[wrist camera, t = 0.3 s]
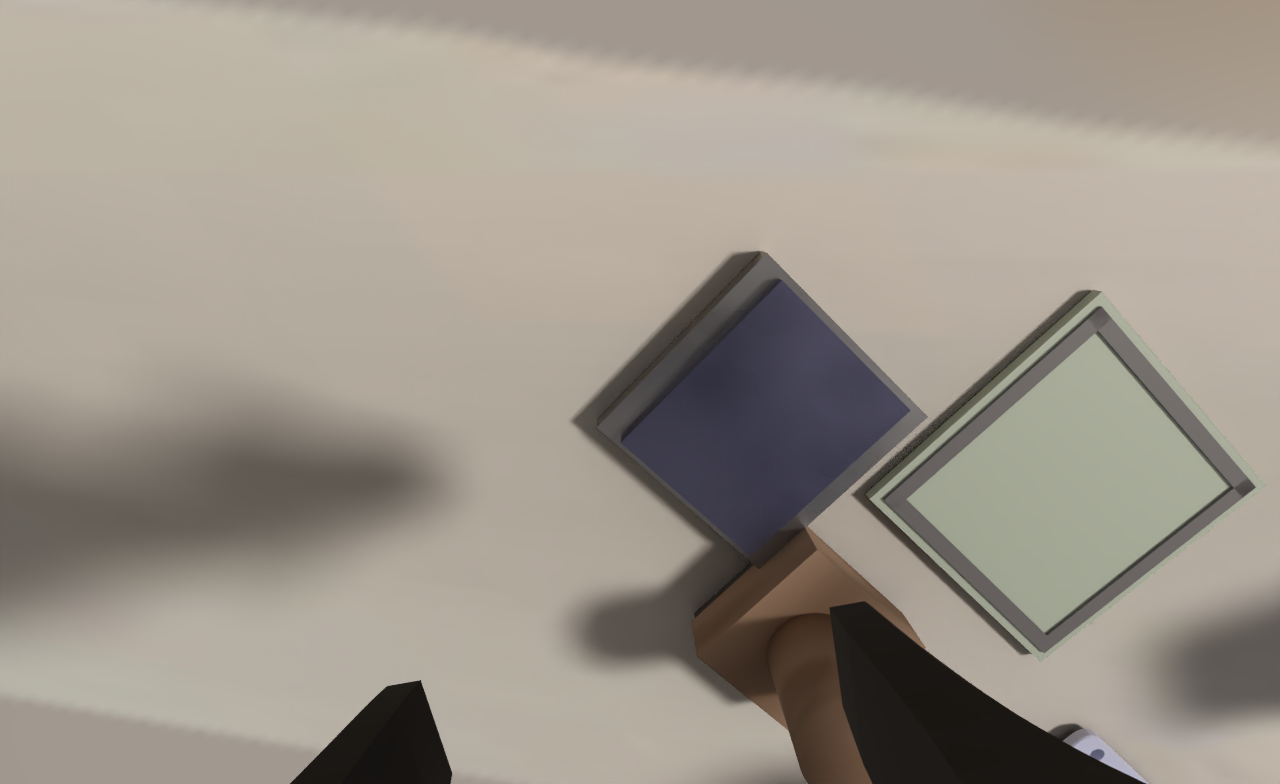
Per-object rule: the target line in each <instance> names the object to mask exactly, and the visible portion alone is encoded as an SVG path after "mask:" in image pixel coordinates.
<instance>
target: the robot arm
mask: <svg viewBox="0 0 1280 784" xmlns="http://www.w3.org/2000/svg"><path fill="white" fill-rule="evenodd" d="M829 610H830V617H831V625H832V632H833V639H834V647H835V654H836V661H837V669H838V676H839V684H840V691H841V698H842V706H843V709H844V711H845V714H846V717H847V720H848V723H849V726H850V729H851V732H852V734H853V737H854V740H855V743H856V746H857V748H858V751H859V754H860V757H861V759H862V762H863V765H864V767H865V769H866V771H867V773H868V775H869V777H870V780H871V782H872V784H1149V783H1148V782H1147V781H1146V780H1145V779H1144V778H1143V777H1142V776H1141V775H1139V774H1138V773H1137V772H1136V771H1135V770H1134V769H1133V768H1132V767H1131V766H1130V765H1129V764H1128V763H1127V762H1126V761H1125V760H1124V759H1122V758H1121V757H1120V756H1119V755H1118V754H1117V753H1116V752H1115V751H1114V750H1113V749H1112V748H1111V747H1110V746H1109V745H1108V744H1107V743H1105V742H1104V741H1103V740H1102V739H1101V738H1100V737H1099V736H1098V735H1097V734H1096V733H1095V732H1094V731H1092V730H1090V729H1079V730H1077V731H1075V732H1074V733H1072V734H1071V735H1070V736H1068V737H1067V738H1066V739H1064V740H1063V741H1062V740H1060V739H1058V738H1056V737H1055V736H1053V735H1051V734H1049V733H1048V732H1046V731H1044V730H1042V729H1040V728H1039V727H1037V726H1035V725H1033V724H1032V723H1030V722H1028V721H1027V720H1025V719H1024V718H1022V717H1020V716H1019V715H1017V714H1015V713H1014V712H1012V711H1011V710H1009V709H1008V708H1006V707H1005V706H1003V705H1002V704H1000V703H999V702H997V701H996V700H994V699H993V698H991V697H989V696H988V695H986V694H985V693H983V692H982V691H981V690H979V689H978V688H976V687H975V686H974V685H972V684H971V683H969V682H968V681H966V680H965V679H964V678H962V677H961V676H960V675H958V674H957V673H955V672H954V671H953V670H951V669H950V668H949V667H947V666H946V665H945V664H943V663H942V662H941V661H939V660H938V659H937V658H935V657H934V656H933V655H931V654H930V653H929V652H927V651H926V650H925V649H924V648H922V647H921V646H920V645H919V644H917V643H916V642H915V641H914V640H912V639H911V638H910V637H909V636H907V635H906V634H905V633H904V632H902V631H901V630H900V629H899V628H898V627H896V626H895V625H894V624H893V623H892V622H890V621H889V620H888V619H887V618H886V617H884V616H883V615H882V614H881V613H880V612H878V611H877V610H876V609H875V608H874V607H872V606H871V605H870V604H868V603H867V602H865V601H862V602H856V603H851V604H845V605H840V606H834V607H829ZM451 777H452V771H451V768H450V765H449V762H448V760H447V757H446V754H445V751H444V748H443V745H442V742H441V739H440V736H439V733H438V730H437V727H436V724H435V721H434V718H433V715H432V712H431V710H430V707H429V704H428V701H427V698H426V695H425V692H424V689H423V686H422V683H421V680H420V681H414V682H408V683H403V684H397V685H392V686H387V687H386V688H385V689H384V690H382V691H381V692H380V693H379V694H378V695H377V696H376V697H375V698H374V699H373V700H372V701H371V702H370V703H369V704H368V705H367V706H366V707H365V708H364V709H363V710H362V711H361V712H360V713H359V714H358V715H357V716H356V717H355V718H354V719H353V720H352V721H351V722H350V723H349V724H348V725H347V726H346V727H345V728H344V729H343V730H342V731H341V732H340V733H339V734H338V735H337V737H336V738H335V739H334V740H333V741H332V742H331V743H330V744H329V745H328V746H327V747H326V748H325V749H324V750H323V751H322V752H321V753H320V754H319V755H318V756H317V757H316V758H315V759H314V760H313V761H312V762H311V763H310V764H309V765H308V766H307V767H306V768H305V769H304V770H303V771H302V772H301V773H300V774H299V775H298V776H297V777H296V779H294V780H293V781H292V782H291V783H290V784H450V783H451Z"/></svg>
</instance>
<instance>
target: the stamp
mask: <svg viewBox="0 0 1280 784" xmlns="http://www.w3.org/2000/svg"><path fill="white" fill-rule="evenodd" d="M862 601H865V602H867V603H868V604H870V605H871V606H872V607H874V608H875V609H876V610H877V611H878V612H880V613H881V614H882V615H883V616H884V617H886V618H887V619H888V620H889V621H890V622H892V623H893V624H894V625H895V626H896V627H898V628H899V629H900V630H901V631H902V632H904V633H905V634H906V635H907V636H909V637H910V638H911V639H912V640H914V641H915V642H916V643H917V644H919V645H920V646H921V647H922V648H924V649H925V646H924V645H923V643H922V642H921V640H920V639H919V637H918V636H917V634H916V633H915V631H914V630H913V628H912V627H911V625H910V624H909V622H908V621H907V619H906V618H905V616H904V615H903V613H902V612H901V611H900V610H898V609H897V608H896V607H895V606H894V605H893V604H892V603H891V602H890V601H889V600H887V599H886V598H885V597H884V596H883V595H882V594H881V593H880V592H879V591H878V590H876V589H875V588H874V587H873V586H872V585H871V584H870V583H869V582H868V581H867V580H865V579H864V578H863V577H862V576H861V575H860V574H859V573H858V572H857V571H856V570H854V569H853V568H852V567H851V566H850V565H849V564H848V563H847V562H846V561H845V560H844V559H842V558H841V557H840V556H839V555H838V554H837V553H836V552H835V551H834V550H833V549H831V548H830V547H829V546H828V545H827V544H826V543H825V542H824V541H823V540H822V539H820V538H819V537H818V536H817V535H816V534H815V533H814V532H813V531H812V530H811V529H809V528H808V527H807V526H806V527H805V528H804V529H803V530H802V531H801V532H800V533H799V534H798V535H796V536H795V537H794V538H793V539H792V540H791V541H790V542H789V543H788V544H787V545H785V546H784V547H783V548H782V549H781V550H780V551H779V552H778V553H777V554H775V555H774V556H773V557H772V558H771V559H770V560H769V561H768V562H767V563H765V564H764V565H763V566H762V567H761V568H760V569H758V568H757V567H756V566H754V565H753V564H752V563H750V564H749V565H747V566H746V567H745V568H744V569H743V570H742V571H741V572H740V573H739V574H738V575H736V576H735V577H734V578H733V579H732V580H731V581H730V582H729V583H728V584H727V585H725V586H724V587H723V588H722V589H721V590H720V591H719V592H718V593H717V594H716V595H714V596H713V597H712V598H711V599H710V600H709V601H708V602H707V603H706V604H705V605H703V606H702V607H701V608H700V609H699V610H698V611H697V612H696V613H695V619H694V620H692V627H693V633H694V639H695V645H696V651H697V657H698V658H700V659H701V660H702V661H703V662H705V663H706V664H707V665H708V666H709V667H711V668H712V669H713V670H714V671H716V672H717V673H718V674H719V675H721V676H722V677H723V678H724V679H726V680H727V681H728V682H729V683H730V684H732V685H733V686H734V687H735V688H737V689H738V690H739V691H740V692H742V693H743V694H744V695H745V696H747V697H748V698H749V699H750V700H752V701H753V702H754V703H755V704H756V705H758V706H759V707H760V708H761V709H763V710H764V711H765V712H766V713H768V714H769V715H770V716H771V717H773V718H774V719H775V720H776V721H777V722H779V723H780V724H781V725H782V726H784V727H785V728H786V729H787V730H789V733H790V736H791V740H792V743H793V746H794V749H795V752H796V756H797V759H798V762H799V765H800V769H801V771H802V774H803V776H804V778H805V780H806V781H807V782H808V784H872V782H871V780H870V777H869V775H868V773H867V771H866V769H865V767H864V765H863V762H862V759H861V757H860V754H859V751H858V748H857V746H856V743H855V740H854V737H853V734H852V732H851V729H850V726H849V723H848V720H847V717H846V714H845V711H844V709H843V706H842V698H841V691H840V684H839V676H838V669H837V661H836V654H835V647H834V639H833V632H832V625H831V617H830V610H829V607H834V606H840V605H845V604H851V603H856V602H862Z"/></svg>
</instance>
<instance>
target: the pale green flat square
mask: <svg viewBox="0 0 1280 784" xmlns="http://www.w3.org/2000/svg"><path fill="white" fill-rule="evenodd" d="M1265 486H1266V484H1265V483H1264V482H1263V481H1262V480H1261V479H1260V477H1259V476H1258V475H1257V474H1256V473H1255V471H1254V470H1253V469H1252V468H1251V467H1250V466H1249V464H1248V463H1247V462H1246V461H1245V460H1244V459H1243V457H1242V456H1241V455H1240V454H1239V453H1238V451H1237V450H1236V449H1235V448H1234V447H1233V446H1232V444H1231V443H1230V442H1229V441H1228V440H1227V438H1226V437H1225V436H1224V435H1223V434H1222V433H1221V431H1220V430H1219V429H1218V428H1217V427H1216V425H1215V424H1214V423H1213V422H1212V421H1211V420H1210V418H1209V417H1208V416H1207V415H1206V414H1205V412H1204V411H1203V410H1202V409H1201V408H1200V407H1199V405H1198V404H1197V403H1196V402H1195V401H1194V400H1193V398H1192V397H1191V396H1190V395H1189V394H1188V392H1187V391H1186V390H1185V389H1184V388H1183V387H1182V385H1181V384H1180V383H1179V382H1178V381H1177V379H1176V378H1175V377H1174V376H1173V375H1172V374H1171V372H1170V371H1169V370H1168V369H1167V368H1166V366H1165V365H1164V364H1163V363H1162V362H1161V361H1160V359H1159V358H1158V357H1157V356H1156V355H1155V353H1154V352H1153V351H1152V350H1151V349H1150V348H1149V346H1148V345H1147V344H1146V343H1145V342H1144V340H1143V339H1142V338H1141V337H1140V336H1139V335H1138V333H1137V332H1136V331H1135V330H1134V329H1133V328H1132V326H1131V325H1130V324H1129V323H1128V322H1127V320H1126V319H1125V318H1124V317H1123V316H1122V315H1121V313H1120V312H1119V311H1118V310H1117V309H1116V307H1115V306H1114V305H1113V304H1112V303H1111V302H1110V300H1109V299H1108V298H1107V297H1106V296H1105V294H1104V293H1103V292H1101V291H1096V290H1092V291H1091V292H1090V293H1089V294H1088V295H1087V296H1086V297H1084V298H1083V299H1082V300H1081V301H1080V302H1079V303H1078V304H1077V305H1075V306H1074V307H1073V308H1072V309H1071V310H1070V311H1069V312H1068V313H1067V314H1065V315H1064V316H1063V317H1062V318H1061V319H1060V320H1059V321H1058V322H1057V323H1055V324H1054V325H1053V326H1052V327H1051V328H1050V329H1049V330H1048V331H1046V332H1045V333H1044V334H1043V335H1042V336H1041V337H1040V338H1039V339H1038V340H1036V341H1035V342H1034V343H1033V344H1032V345H1031V346H1030V347H1029V348H1027V349H1026V350H1025V351H1024V352H1023V353H1022V354H1021V355H1020V356H1019V357H1017V358H1016V359H1015V360H1014V361H1013V362H1012V363H1011V364H1010V365H1009V366H1007V367H1006V368H1005V369H1004V370H1003V371H1002V372H1001V373H1000V374H998V375H997V376H996V377H995V378H994V379H993V380H992V381H991V382H990V383H988V384H987V385H986V386H985V387H984V388H983V389H982V390H981V391H979V392H978V393H977V394H976V395H975V396H974V397H973V398H972V399H971V400H969V401H968V402H967V403H966V404H965V405H964V406H963V407H962V408H960V409H959V410H958V411H957V412H956V413H955V414H954V415H953V416H952V417H950V418H949V419H948V420H947V421H946V422H945V423H944V424H943V425H942V426H940V427H939V428H938V429H937V430H936V431H935V432H934V433H933V434H931V435H930V436H929V437H928V438H927V439H926V440H925V441H924V442H923V443H921V444H920V445H919V446H918V447H917V448H916V449H915V450H914V451H912V452H911V453H910V454H909V455H908V456H907V457H906V458H905V459H904V460H902V461H901V462H900V463H899V464H898V465H897V466H896V467H895V468H894V469H892V470H891V471H890V472H889V473H888V474H887V475H886V476H885V477H883V478H882V479H881V480H880V481H879V482H878V483H877V484H876V485H875V486H873V487H872V488H871V489H870V490H869V491H868V492H867V493H866V496H867V497H868V498H869V499H870V500H871V501H872V502H873V503H874V504H875V505H876V506H877V507H878V508H879V509H880V510H881V511H882V512H883V513H884V514H886V515H887V516H888V517H889V518H890V519H891V520H892V521H893V522H894V523H895V524H896V525H897V526H898V527H899V528H900V529H901V530H902V531H903V532H904V533H906V534H907V535H908V536H909V537H910V538H911V539H912V540H913V541H914V542H915V543H916V544H917V545H918V546H919V547H920V548H921V549H922V550H923V551H924V552H925V553H927V554H928V555H929V556H930V557H931V558H932V559H933V560H934V561H935V562H936V563H937V564H938V565H939V566H940V567H941V568H942V569H943V570H944V571H945V572H946V573H948V574H949V575H950V576H951V577H952V578H953V579H954V580H955V581H956V582H957V583H958V584H959V585H960V586H961V587H962V588H963V589H964V590H965V591H966V592H968V593H969V594H970V595H971V596H972V597H973V598H974V599H975V600H976V601H977V602H978V603H979V604H980V605H981V606H982V607H983V608H984V609H985V610H986V611H987V612H989V613H990V614H991V615H992V616H993V617H994V618H995V619H996V620H997V621H998V622H999V623H1000V624H1001V625H1002V626H1003V627H1004V628H1005V629H1006V630H1007V631H1009V632H1010V633H1011V634H1012V635H1013V636H1014V637H1015V638H1016V639H1017V640H1018V641H1019V642H1020V643H1021V644H1022V645H1023V646H1024V647H1025V648H1026V649H1027V650H1028V651H1030V652H1031V653H1032V654H1033V655H1034V656H1035V657H1036V658H1037V659H1038V660H1039V661H1040V662H1041V661H1043V660H1044V659H1045V658H1047V657H1048V656H1049V655H1050V654H1052V653H1053V652H1054V651H1055V650H1057V649H1058V648H1059V647H1061V646H1062V645H1063V644H1064V643H1066V642H1067V641H1068V640H1070V639H1071V638H1072V637H1073V636H1075V635H1076V634H1077V633H1078V632H1080V631H1081V630H1082V629H1084V628H1085V627H1086V626H1087V625H1089V624H1090V623H1091V622H1093V621H1094V620H1095V619H1096V618H1098V617H1099V616H1100V615H1102V614H1103V613H1104V612H1105V611H1107V610H1108V609H1109V608H1110V607H1112V606H1113V605H1114V604H1116V603H1117V602H1118V601H1119V600H1121V599H1122V598H1123V597H1125V596H1126V595H1127V594H1128V593H1130V592H1131V591H1132V590H1134V589H1135V588H1136V587H1137V586H1139V585H1140V584H1141V583H1142V582H1144V581H1145V580H1146V579H1148V578H1149V577H1150V576H1151V575H1153V574H1154V573H1155V572H1157V571H1158V570H1159V569H1160V568H1162V567H1163V566H1164V565H1165V564H1167V563H1168V562H1169V561H1171V560H1172V559H1173V558H1174V557H1176V556H1177V555H1178V554H1180V553H1181V552H1182V551H1183V550H1185V549H1186V548H1187V547H1189V546H1190V545H1191V544H1192V543H1194V542H1195V541H1196V540H1197V539H1199V538H1200V537H1201V536H1203V535H1204V534H1205V533H1206V532H1208V531H1209V530H1210V529H1212V528H1213V527H1214V526H1215V525H1217V524H1218V523H1219V522H1220V521H1222V520H1223V519H1224V518H1226V517H1227V516H1228V515H1229V514H1231V513H1232V512H1233V511H1235V510H1236V509H1237V508H1238V507H1240V506H1241V505H1242V504H1244V503H1245V502H1246V501H1247V500H1249V499H1250V498H1251V497H1252V496H1254V495H1255V494H1256V493H1258V492H1259V491H1260V490H1261V489H1263V488H1264V487H1265Z"/></svg>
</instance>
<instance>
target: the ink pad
mask: <svg viewBox="0 0 1280 784" xmlns="http://www.w3.org/2000/svg"><path fill="white" fill-rule="evenodd" d="M926 418H927V416H926V415H925V414H924V413H923V411H922V410H921V409H920V408H919V407H918V406H917V405H916V404H915V403H914V402H913V401H912V400H911V399H910V398H909V397H908V396H907V395H906V394H905V393H904V392H903V391H902V390H901V389H900V388H899V387H898V386H897V385H896V384H895V383H894V382H893V381H892V380H891V379H890V378H889V377H888V376H887V375H886V374H885V373H884V372H883V371H882V370H881V369H880V368H879V367H878V366H877V365H876V364H875V363H874V362H873V361H872V360H871V359H870V357H869V356H868V355H867V354H866V353H865V352H864V351H863V350H862V349H861V348H860V347H859V346H858V345H857V344H856V343H855V342H854V341H853V340H852V339H851V338H850V337H849V336H848V335H847V334H846V333H845V332H844V331H843V330H842V329H841V328H840V327H839V326H838V325H837V324H836V323H835V322H834V321H833V320H832V319H831V318H830V317H829V316H828V315H827V314H826V313H825V312H824V311H823V310H822V309H821V308H820V307H819V306H818V305H817V304H816V302H815V301H814V300H813V299H812V298H811V297H810V296H809V295H808V294H807V293H806V292H805V291H804V290H803V289H802V288H801V287H800V286H799V285H798V284H797V283H796V282H795V281H794V280H793V279H792V278H791V277H790V276H789V275H788V274H787V273H786V272H785V271H784V270H783V269H782V268H781V267H780V266H779V265H778V264H777V263H776V262H775V261H774V260H773V259H772V258H771V257H770V256H769V255H768V254H767V253H765V252H763V251H761V252H760V253H759V254H758V255H757V256H756V257H755V258H754V259H753V260H752V261H751V262H750V263H749V264H748V265H747V266H746V267H745V268H744V269H743V270H742V272H741V273H740V274H739V275H738V276H737V277H736V278H735V279H734V280H733V281H732V282H731V283H730V284H729V285H728V286H727V287H726V288H725V289H724V290H723V291H722V292H721V293H720V294H719V295H718V296H717V297H716V298H715V299H714V300H713V301H712V302H711V303H710V304H709V305H708V306H707V307H706V308H705V309H704V310H703V312H702V313H701V314H700V315H699V316H698V317H697V318H696V319H695V320H694V321H693V322H692V323H691V324H690V325H689V326H688V327H687V328H686V329H685V330H684V331H683V332H682V333H681V334H680V335H679V336H678V337H677V338H676V339H675V340H674V341H673V342H672V343H671V344H670V345H669V346H668V347H667V348H666V349H665V351H664V352H663V353H662V354H661V355H660V356H659V357H658V358H657V359H656V360H655V361H654V362H653V363H652V364H651V365H650V366H649V367H648V368H647V369H646V370H645V371H644V372H643V373H642V374H641V375H640V376H639V377H638V378H637V379H636V380H635V381H634V382H633V383H632V384H631V385H630V386H629V387H628V388H627V389H626V391H625V392H624V393H623V394H622V395H621V396H620V397H619V398H618V399H617V400H616V401H615V402H614V403H613V404H612V405H611V406H610V407H609V408H608V409H607V410H606V411H605V412H604V413H603V414H602V415H601V416H600V417H599V418H598V420H597V429H599V430H600V431H601V432H602V433H603V434H604V435H605V436H607V437H608V438H609V439H610V440H611V441H612V442H613V443H615V444H616V445H617V446H618V447H619V448H620V449H622V450H623V451H624V452H625V453H626V454H627V455H628V456H630V457H631V458H632V459H633V460H634V461H635V462H636V463H638V464H639V465H640V466H641V467H642V468H643V469H644V470H646V471H647V472H648V473H649V474H650V475H651V476H652V477H654V478H655V479H656V480H657V481H658V482H659V483H660V484H662V485H663V486H664V487H665V488H666V489H667V490H669V491H670V492H671V493H672V494H673V495H674V496H675V497H677V498H678V499H679V500H680V501H681V502H682V503H683V504H685V505H686V506H687V507H688V508H689V509H690V510H691V511H693V512H694V513H695V514H696V515H697V516H698V517H699V518H701V519H702V520H703V521H704V522H705V523H706V524H707V525H709V526H710V527H711V528H712V529H713V530H714V531H716V532H717V533H718V534H719V535H720V536H721V537H722V538H724V539H725V540H726V541H727V542H728V543H729V544H730V545H732V546H733V547H734V548H735V549H736V550H737V551H738V552H740V553H741V554H742V555H743V556H744V557H745V558H746V559H748V560H749V561H750V562H751V563H752V564H753V565H754V566H756V567H757V568H758V569H760V568H761V567H762V566H763V565H764V564H765V563H767V562H768V561H769V560H770V559H771V558H772V557H773V556H774V555H775V554H777V553H778V552H779V551H780V550H781V549H782V548H783V547H784V546H785V545H787V544H788V543H789V542H790V541H791V540H792V539H793V538H794V537H795V536H796V535H798V534H799V533H800V532H801V531H802V530H803V529H804V528H805V527H806V526H808V525H809V524H810V523H811V522H812V521H813V520H814V519H815V518H816V517H818V516H819V515H820V514H821V513H822V512H823V511H824V510H825V509H826V508H827V507H829V506H830V505H831V504H832V503H833V502H834V501H835V500H836V499H837V498H839V497H840V496H841V495H842V494H843V493H844V492H845V491H846V490H847V489H849V488H850V487H851V486H852V485H853V484H854V483H855V482H856V481H857V480H858V479H860V478H861V477H862V476H863V475H864V474H865V473H866V472H867V471H868V470H870V469H871V468H872V467H873V466H874V465H875V464H876V463H877V462H878V461H880V460H881V459H882V458H883V457H884V456H885V455H886V454H887V453H888V452H889V451H891V450H892V449H893V448H894V447H895V446H896V445H897V444H898V443H899V442H901V441H902V440H903V439H904V438H905V437H906V436H907V435H908V434H909V433H911V432H912V431H913V430H914V429H915V428H916V427H917V426H918V425H919V424H920V423H922V422H923V421H924V420H925V419H926Z"/></svg>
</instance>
